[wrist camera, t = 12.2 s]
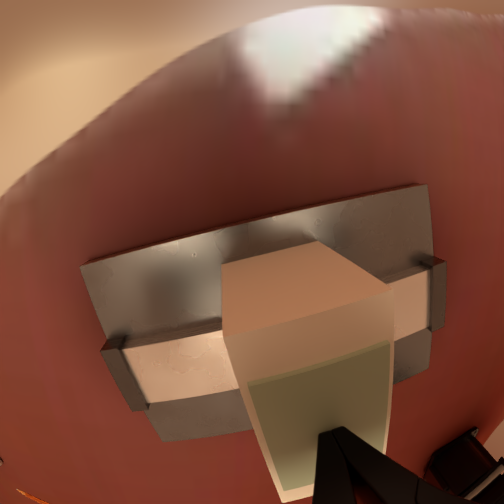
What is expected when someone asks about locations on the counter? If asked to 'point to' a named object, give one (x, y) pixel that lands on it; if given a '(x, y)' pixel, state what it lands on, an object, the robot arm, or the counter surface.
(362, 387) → the din module
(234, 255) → the din rail
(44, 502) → the pencil
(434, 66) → the counter surface
